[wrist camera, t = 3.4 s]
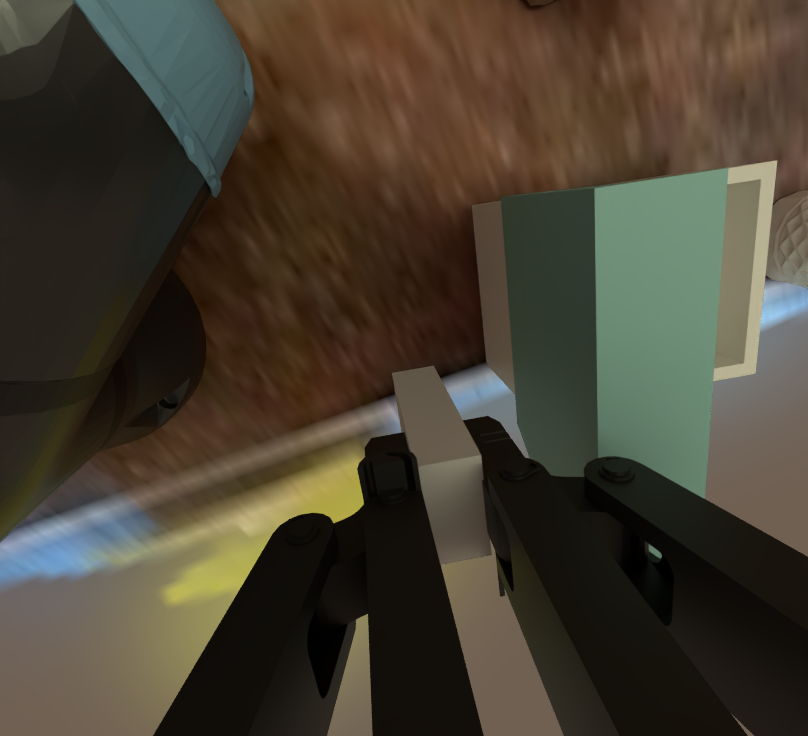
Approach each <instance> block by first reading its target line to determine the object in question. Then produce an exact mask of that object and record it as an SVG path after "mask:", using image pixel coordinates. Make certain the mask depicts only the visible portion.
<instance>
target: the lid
mask: <svg viewBox="0 0 808 736" xmlns="http://www.w3.org/2000/svg"><path fill="white" fill-rule="evenodd" d="M728 169H729V168H723V169H715V170H707V171H700V172H694V173H687V174H680V175H674V176H667V177H661V178H654V179H648V180H641V181H635V182H627V183H618V184H609V185H600V186H591V187H582V188H572V189H563V190H554V191H545V192H536V193H527V194H519V195H512V196H506V197H501V210H502V224H503V237H504V251H505V264H506V277H507V291H508V304H509V318H510V331H511V344H512V358H513V371H514V385H515V398H516V411H517V424H518V427H519V429H520V432H521V435H522V438H523V441H524V443H525V446H526V449H527V452H528V455H529V457H530V459H532V460H535V461H537V462H539V463H540V464H542V465H543V466H544V467H545V468H546V469H547V471H548V472H549V473H550V475H553V476H563V477H584V467H585V466H586V464H587V463H588V462H590V461H592V460H594V459H596V458H601V457H606V456H611V457H612V456H619V457H623V458H628V459H632V460H634V461H637V462H639V463H641V464H643V465H645V466H647V467H648V468H650V469H652V470H654V471H656V472H657V473H659V474H661V475H663V476H664V477H666V478H668V479H670V480H672V481H673V482H675V483H677V484H679V485H681V486H682V487H684V488H686V489H688V490H689V491H691V492H693V493H695V494H697V495H698V496H700V497H702V498H704V499H705V489H706V475H707V460H708V446H709V433H710V417H711V405H712V391H713V377H714V363H715V349H716V336H717V322H718V308H719V294H720V280H721V266H722V252H723V238H724V224H725V210H726V196H727V182H728ZM649 551H650V552H651V553H653V554H654V555H655V556H657V557H659V558H660V559H661V557H662V554H661V553H660V552H659V551H658V550H656V549H655V548H654V547H652V546H651V545H650V544H649Z"/></svg>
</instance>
